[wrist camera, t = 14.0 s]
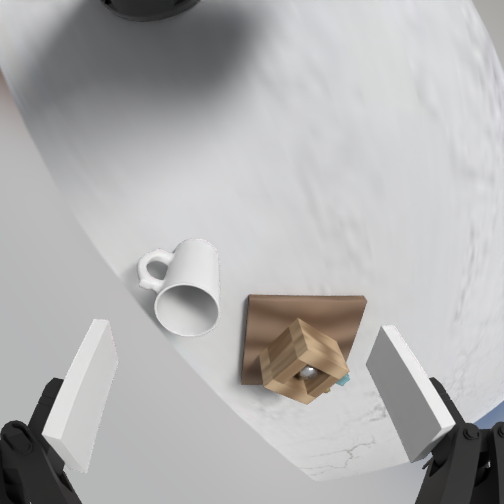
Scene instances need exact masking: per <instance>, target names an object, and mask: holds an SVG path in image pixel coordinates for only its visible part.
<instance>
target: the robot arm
mask: <svg viewBox="0 0 504 504" xmlns="http://www.w3.org/2000/svg"><path fill="white" fill-rule="evenodd" d="M198 1H199V0H101V2H102V3H103V4H104V5H105V6H106V7H107V8H108V9H109V10H111V11H112V12H113V13H114V14H116V15H118V16H120V17H122V18H125V19H128V20H133V21H154V20H159V19H164V18H167V17H170V16H173V15H176V14H178V13H180V12H182V11H184V10H186V9H188V8H190V7H191V6H193V5H194V4H195V3H197V2H198ZM118 363H119V360H118V357H117V353H116V349H115V345H114V340H113V337H112V332H111V328H110V323H109V320H102V319H94V320H93V322H92V324H91V326H90V328H89V330H88V332H87V334H86V336H85V338H84V340H83V342H82V344H81V346H80V348H79V350H78V352H77V354H76V356H75V358H74V360H73V362H72V364H71V366H70V369H69V371H68V373H67V375H66V377H65V379H64V380H63V379H58V378H53V379H52V380H51V381H50V382H49V383H48V384H47V385H46V387H45V389H44V391H43V393H42V397H40V399H39V402H38V404H37V406H36V408H35V410H34V413H33V415H32V418H31V420H30V422H29V424H28V427H27V426H26V424H24V423H23V422H21V421H17V420H16V421H10V422H9V423H7V424H5V425H4V427H3V428H2V430H1V433H0V438H1V440H0V504H30V502H31V504H82V503H81V501H80V499H79V498H78V496H77V494H76V493H75V491H74V489H73V487H72V485H71V484H70V482H69V480H68V478H67V476H66V474H65V472H64V471H63V467H64V464H66V465H67V466H68V467H69V469H72V470H75V471H79V472H82V473H87V471H88V466H89V463H90V458H91V455H92V450H93V447H94V443H95V438H96V436H97V432H98V428H99V425H100V421H101V418H102V414H103V411H104V407H105V404H106V401H107V397H108V394H109V391H110V388H111V385H112V382H113V379H114V375H115V373H116V369H117V367H118ZM366 366H367V368H368V370H369V372H370V375H371V377H372V379H373V381H374V383H375V385H376V387H377V389H378V391H379V393H380V396H381V398H382V400H383V402H384V404H385V406H386V408H387V411H388V413H389V415H390V417H391V419H392V422H393V424H394V426H395V428H396V430H397V433H398V435H399V437H400V439H401V442H402V444H403V446H404V449H405V451H406V453H407V456H408V458H409V460H410V462H411V463H413V462H416V461H418V460H421V459H424V458H425V457H426V456H427V455H428V454H429V453H430V452H432V455H433V457H432V458H431V459H430V460H429V461H428V462H427V463H426V464H425V465H424V466H423V468H422V469H425V468H426V467H427V466H428V468H427V471H426V475H425V478H424V480H423V483H422V486H421V489H420V492H419V494H418V497H417V500H416V502H415V504H504V422H498V423H496V424H495V425H494V426H493V427H492V428H491V429H478V427H477V426H476V425H474V424H472V423H465V421H464V420H463V418H462V416H461V415H460V413H459V411H458V410H457V408H456V406H455V405H454V403H453V402H452V400H450V397H449V395H448V393H446V390H445V389H444V387H443V386H442V384H441V383H440V382H439V381H437V380H436V379H435V378H434V377H432V378H428V376H427V375H426V373H425V372H424V370H423V369H422V367H421V365H420V364H419V362H418V361H417V359H416V358H415V356H414V355H413V353H412V352H411V350H410V349H409V347H408V345H407V344H406V342H405V341H404V339H403V338H402V336H401V335H400V334H399V332H398V331H397V329H396V328H395V326H394V325H386V326H381V328H380V331H379V333H378V336H377V338H376V341H375V343H374V346H373V348H372V351H371V353H370V356H369V358H368V360H367V363H366ZM488 462H490V467H489V465H488Z"/></svg>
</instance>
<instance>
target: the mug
mask: <svg viewBox="0 0 504 504" xmlns="http://www.w3.org/2000/svg"><path fill="white" fill-rule="evenodd" d="M152 261H158V262H161V263H163V264H165V265H166V266H167V267H168V269H167V272H166V275H165V277H164V280H158V279H156V278H154V277H152V276H151V275H150V274H149V273H148V271H147V268H146V266H147V264H148V263H150V262H152ZM137 274H138V278H139V286H140V287H142V288H145V289H148V290H149V289H152V290H154V291H155V292H156V293H157V297H156V300H155V304H154V311H155V315H156V317H157V319H158V321H159V322H160V324H161V325H162V326H163V327H164V328H166V329H167V330H168V331H170V332H172V333H174V334H176V335H179V336H184V337H197V336H201V335H204V334H206V333H208V332H210V331H211V330H213V329H214V328H215V327H216V325H217V324H218V322H219V319H220V263H219V255H218V252H217V250H216V249H215V247H214V246H213V245H212V244H211V243H209V242H208V241H205V240H203V239H198V238H193V239H188V240H185V241H183V242H182V243H181V244H179V245H178V247H177V248H176V250H175V252H174V253H169V252H166V251H164V250H162V249H160V248H158V249H155V250H153V251H151V252H149V253H147V254H145V255H144V256H143V257H141V259H140V260H139V262H138V264H137Z"/></svg>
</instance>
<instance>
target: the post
mask: <svg viewBox="0 0 504 504" xmlns="http://www.w3.org/2000/svg"><path fill="white" fill-rule="evenodd" d="M300 374H301V377H302V378H303V379H305V380H310V379H313V378H315V377H316V376H317V374H318V371H317V368H315V367H313V366H311V365H309V364H307V365H306V366H305V367H304V368H302V369H301V370H300Z"/></svg>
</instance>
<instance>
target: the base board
mask: <svg viewBox="0 0 504 504" xmlns="http://www.w3.org/2000/svg"><path fill="white" fill-rule="evenodd" d="M366 303H367V300H366V299H365V297H364V296H289V295H249V302H248V312H247V323H246V334H245V344H244V355H243V365H242V376H241V382H242V385H263V378H262V371H261V364H260V357H259V354H260V353H261V352H262V351H263V350H264V349H266V348H267V347H268V346H269V345H270V344H271V343H272V342H273V341H274V340H275V339H276V338H277V337H278V336H279V335H280V334H281V333H282V332H283V331H285V330H286V329H287V328H288V327H289V326H290V325H291V324H292V323H293V322H294V321H295V320H296V319H297V318H299V319H301V320H302V321H304V322H305V323H307V324H309V325H310V326H312V327H314V328H315V329H317V330H318V331H320V332H322V333H323V334H325V335H327V336H328V337H330V338H332V339H333V340H335V341H337V344H338V346H339V348H340V350H341V353H342V355H343V357H344V360H345V362H346V361H347V358H348V356H349V353H350V350H351V348H352V345H353V342H354V339H355V336H356V334H357V331H358V328H359V325H360V322H361V319H362V316H363V313H364V309H365V306H366Z"/></svg>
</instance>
